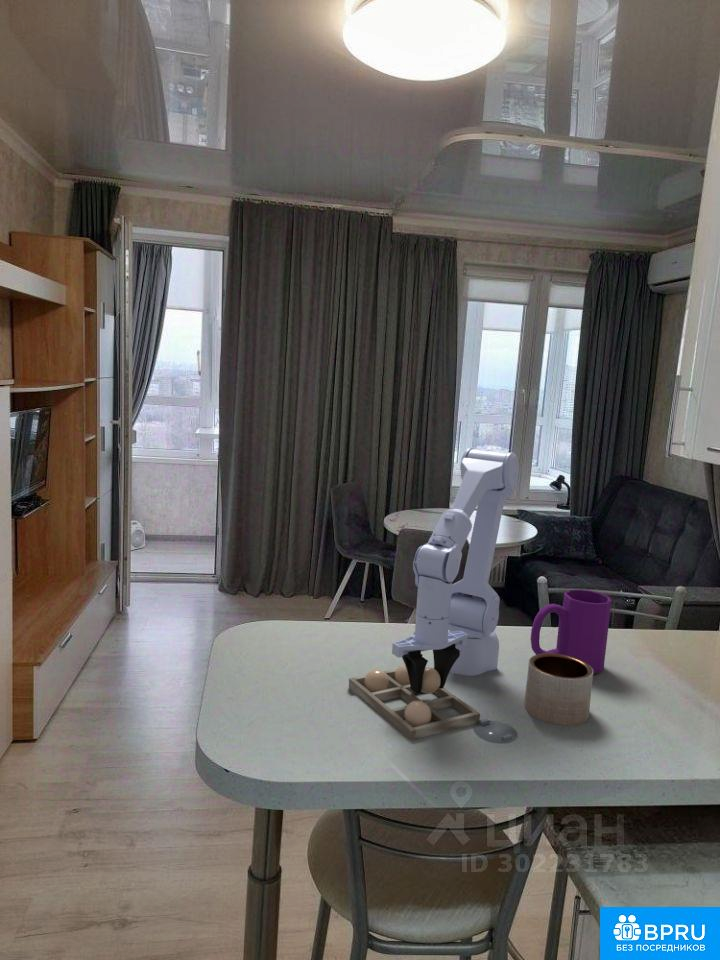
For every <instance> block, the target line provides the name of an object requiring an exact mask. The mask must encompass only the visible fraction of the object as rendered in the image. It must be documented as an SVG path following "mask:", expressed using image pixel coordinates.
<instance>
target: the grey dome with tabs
mask: <svg viewBox="0 0 720 960" xmlns="http://www.w3.org/2000/svg"><path fill="white" fill-rule="evenodd" d="M473 733H474V734H475V735H476V736H477V737H478V738H480V739H482V740H484V741H487V742H490V743H493V744H509V743H512V742H514V741H516V740H517V739H518V735H519V734H518V731H517V730H516V729H515V728H514V727H513V726H512V725H509V724H508V723H505V722H502V721H499V720H490V719H489V718H483V719H480V722H479V723H475V724H474V725H473Z"/></svg>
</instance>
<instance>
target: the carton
mask: <svg viewBox="0 0 720 960" xmlns="http://www.w3.org/2000/svg"><path fill="white" fill-rule="evenodd" d="M396 669H397V668H394V669H389V670H385V671H384V670H383V671H384V672H385V673H386V674H387V676H388V678H389V686H388V689H386V690H382V691H377V692H372V693H371V692H370V691H369V690H367V689H366V687H365V684H364V681H365V677H366V675H367V674H364V675H360V676H355V677H354V676H353V677H351V678H350V677H349V678H348V690H349V691H350V692H351V693H352V694H354V696H358V697H360V698H362V699H363V700H364V701H365V702H366V703H367V704H369V706H371V708H373V709H374V710H375V711H376V712H378V713H379V714H380V715H381V716H382V717H383V718H385V719H386V721H387V722H389V723H390V724H392V725H393V726H394V727H395V728H396V729H398V730H399V732H401V733H402V734H403V735H404V736H406V738H407V739H409V740H410V741H413V740H417V739H421V738H426V737H429V736H433V735H436V734H440V733H444V732H448V731H452V730H455V729H459V728H463V727H467V726H470V725H473V724H474V725H475V724H477V723H479V722H480V720H481V713H480V712H479V711H477V710H476V709H475V708H473V707H472V706H470V705H469V704H467V703H466V702H465V701H463V700H462V699H460V698H459V697H457V696H456V695H455V694H453V693H452V692H450V691H449V690H448V689H446V688H442V689H440V688H438V689H437V690H436V691H435V692H433V694H434V695H436V696H437V697H438V698H437V697H436V698H434V699H431V700H430V699H429V700H424V702H425V703H426V704H427V705H428V706H429V708H430V710H431V720H430V723H429V724H425V725H421V726H417V727H412V726H411V725H409V724H408V723H407V722H406V721H405V720H404V719H405V717H404V711H405V708H406V706H407V705H404V706H401V707H396V708H390V707H389V706H388V705H387V704H385V703H384V702H385V701H388V700H394V699H398V698H401V699H402V700H403V701H405V703H407V704H409V703H410V702H412V701H416V700H419V701H422V700H421V699H420V698H419V697H417V696H416V695H417V694H416V693H415V692H414V691H412V690H411V687H410V684H409V685H405V686H402V685H400V684H399V683H398V682H396V680H395V671H396ZM421 693H423V692H422V691H421ZM449 707H450V708H451V707H453V708H454V709H455V710H456V711H458V712H460V713H461V715H458V716H454V717H448V718H445V717H444V716H442V715H441V714H440V713H438V712H437V710H441V709H442V710H443V709H445V708H449Z"/></svg>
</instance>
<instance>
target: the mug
mask: <svg viewBox="0 0 720 960" xmlns="http://www.w3.org/2000/svg"><path fill="white" fill-rule="evenodd" d="M611 609H612V600H611V598H610V597H609V596H607V595H605V594H603V593H601V592H597V591H593V590H589V589H587V590H586V589H585V590H584V589H570V590H567V591H566V592H564V593H563V603H562V605H560V604H556V603H550V604H546V605H544V606H543V607H541V609H540V610H539V611H537V614H536V615H535V617H534V620H533V623H532V626H531V629H530V631H531V632H530V644H531V646H530V647H531V650H532V651H533V653H534V654H535V655H537V654H543V653H555V654H563V655H567V656H571V657H574V658H577V659H580V660H582V661H584V662H586V663H587V664H588V665H590V666H591V667H592V669H593V675H597V674H599V673H601V672H602V671H604V669H605V661H606V653H607V645H608V644H607V643H608V635H609V625H610V618H611V617H610V616H611ZM550 613H555V614H557V615H558V616H559V617H558V627H557V639H556V647H555V648H553V649H549V650H545V649H542V648H541V646H540V645H541V644H540V637H541V636H540V635H541V629H542V626H543V622H544V620H545V618H546V617H547V616H548V615H549V614H550Z"/></svg>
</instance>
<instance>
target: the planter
mask: <svg viewBox="0 0 720 960" xmlns="http://www.w3.org/2000/svg"><path fill="white" fill-rule="evenodd" d="M593 679H594V674H593V669H592V667H591V666H590V665H588V664H587V663H586V662H584V661H582V660H580V659H577V658H574V657H571V656H567V655H563V654H555V653H543V654H537V655H536V654H535V655H533V656H531V657H530V658H529V660H528V668H527V677H526V685H525V694H524V700H523V701H524V702H523V706H524V709H525V710H526V711H527V712H528V713H529V715H532V717H535V718H537V719H539V720H540V721H544V722H547V723H550V724H554V725H561V726H575V725H576V726H577V725H581V724H583V723H586V722H587V720H588V719H589V717H590V710H591V709H590V708H591V697H592V690H593V689H592V687H593Z"/></svg>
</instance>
